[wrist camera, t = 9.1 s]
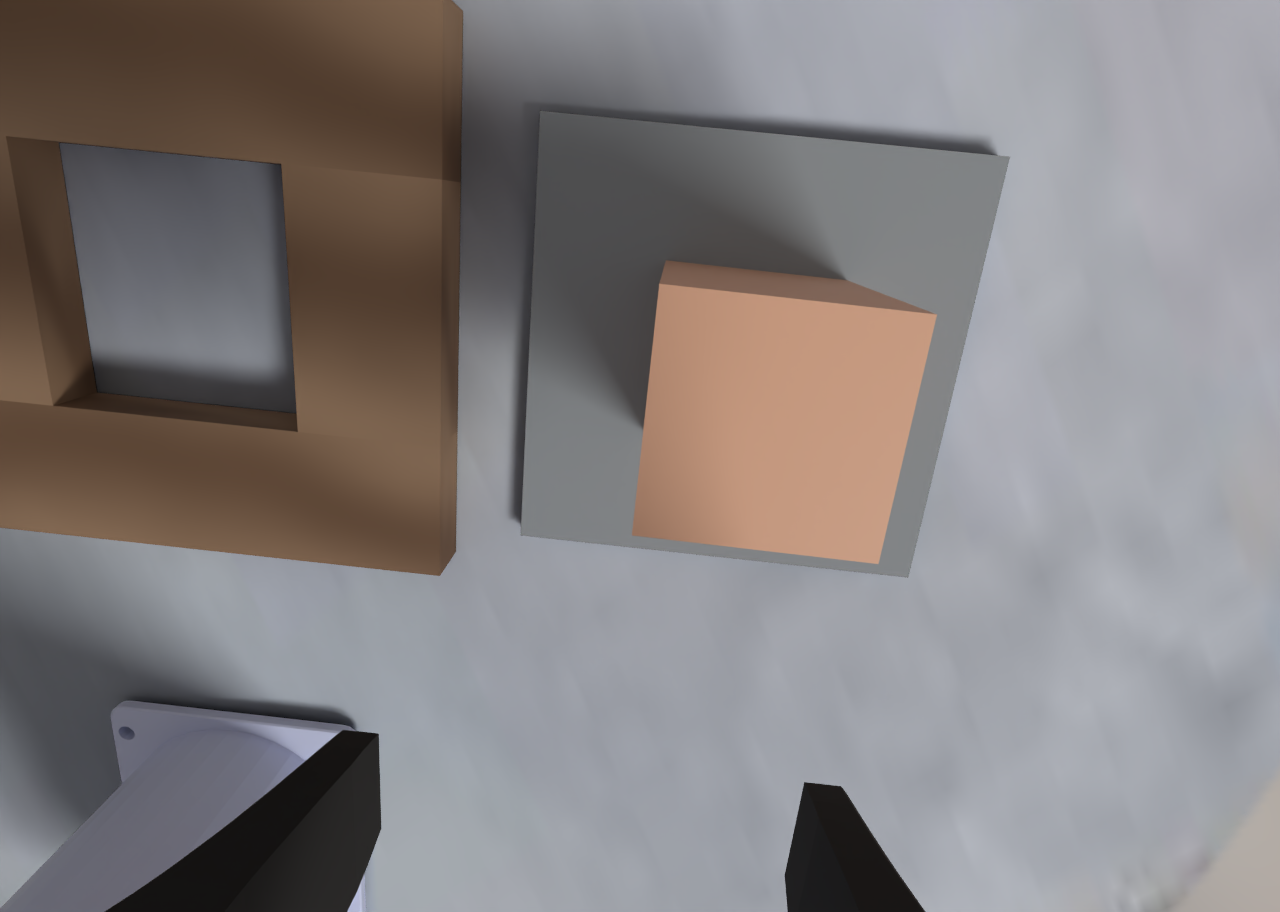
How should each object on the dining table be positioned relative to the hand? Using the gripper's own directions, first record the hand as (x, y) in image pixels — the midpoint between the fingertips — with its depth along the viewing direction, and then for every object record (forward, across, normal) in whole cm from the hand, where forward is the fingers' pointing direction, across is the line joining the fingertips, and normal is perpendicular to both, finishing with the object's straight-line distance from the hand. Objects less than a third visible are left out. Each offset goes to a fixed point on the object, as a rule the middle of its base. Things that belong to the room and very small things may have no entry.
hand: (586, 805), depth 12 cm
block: (+9, -2, -6) cm, 11 cm away
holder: (+9, +12, -6) cm, 17 cm away
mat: (+9, -2, -6) cm, 11 cm away
